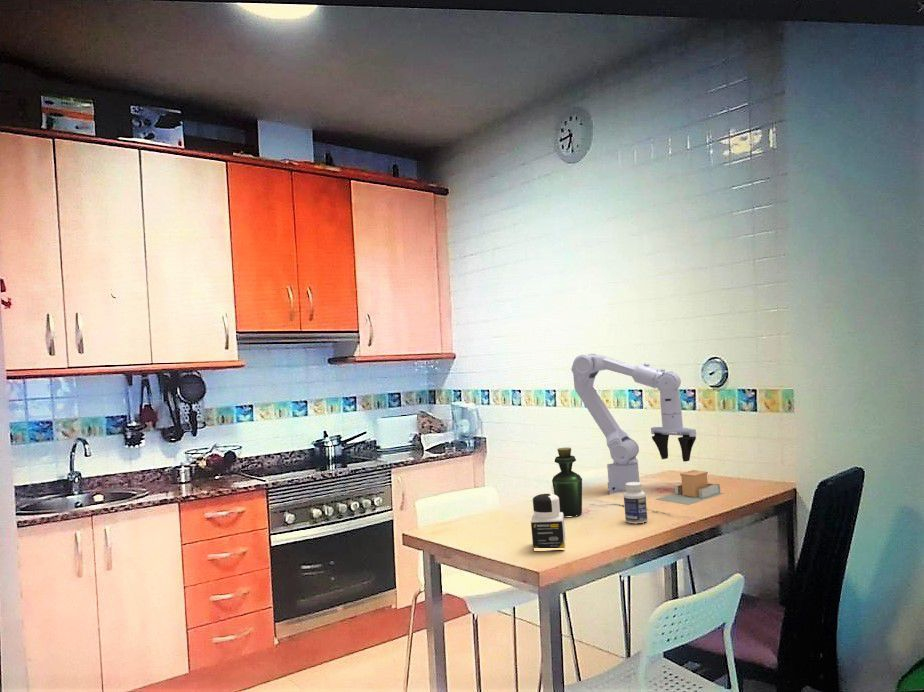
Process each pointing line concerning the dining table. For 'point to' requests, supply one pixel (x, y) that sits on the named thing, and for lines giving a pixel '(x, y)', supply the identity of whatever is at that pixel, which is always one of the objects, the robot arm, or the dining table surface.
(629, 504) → the pill bottle
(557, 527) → the medicine bottle
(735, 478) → the dining table surface
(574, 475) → the potion bottle
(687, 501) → the deck plate
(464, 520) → the dining table surface
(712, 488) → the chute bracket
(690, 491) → the chute block
